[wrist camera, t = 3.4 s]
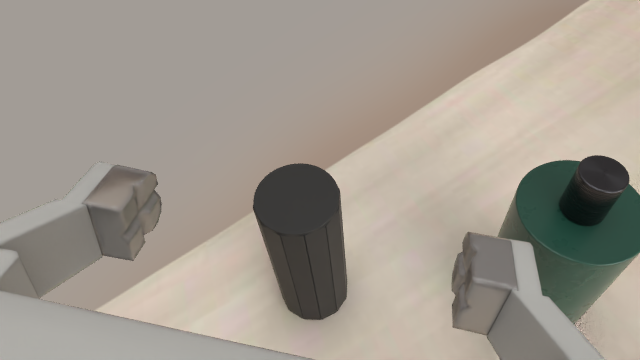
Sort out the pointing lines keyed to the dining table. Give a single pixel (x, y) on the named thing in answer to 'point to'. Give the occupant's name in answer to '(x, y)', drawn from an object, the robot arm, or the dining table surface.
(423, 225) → the dining table surface
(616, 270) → the flask
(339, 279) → the ribbed black grip post
